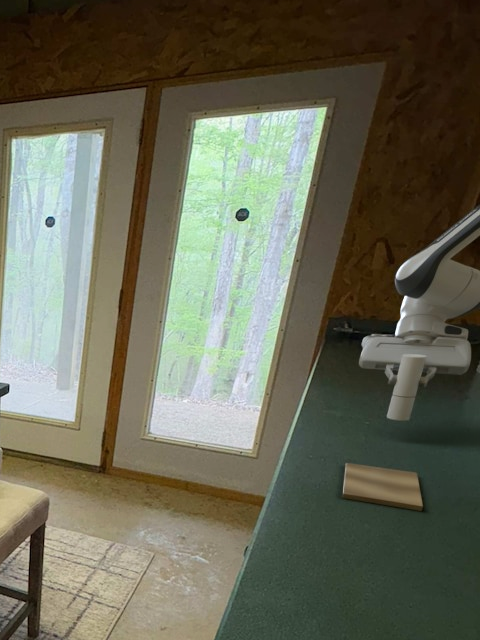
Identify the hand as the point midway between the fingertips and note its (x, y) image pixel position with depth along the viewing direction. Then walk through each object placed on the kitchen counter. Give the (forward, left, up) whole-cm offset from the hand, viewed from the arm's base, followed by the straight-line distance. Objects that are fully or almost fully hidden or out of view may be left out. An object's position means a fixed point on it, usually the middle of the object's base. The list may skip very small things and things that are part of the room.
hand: (407, 384), depth 146 cm
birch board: (+14, +34, -14) cm, 40 cm away
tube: (0, -1, -9) cm, 9 cm away
